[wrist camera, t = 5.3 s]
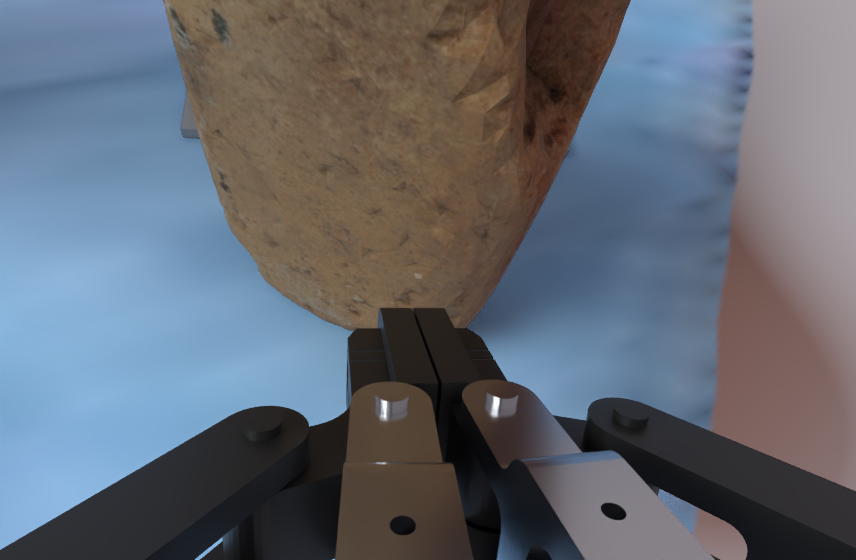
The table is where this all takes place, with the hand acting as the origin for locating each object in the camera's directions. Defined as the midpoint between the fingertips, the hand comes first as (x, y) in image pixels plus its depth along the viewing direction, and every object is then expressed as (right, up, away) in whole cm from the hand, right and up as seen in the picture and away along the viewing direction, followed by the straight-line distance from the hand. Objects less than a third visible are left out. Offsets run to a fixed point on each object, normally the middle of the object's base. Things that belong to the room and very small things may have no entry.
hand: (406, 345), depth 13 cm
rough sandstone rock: (-2, +2, +13) cm, 13 cm away
